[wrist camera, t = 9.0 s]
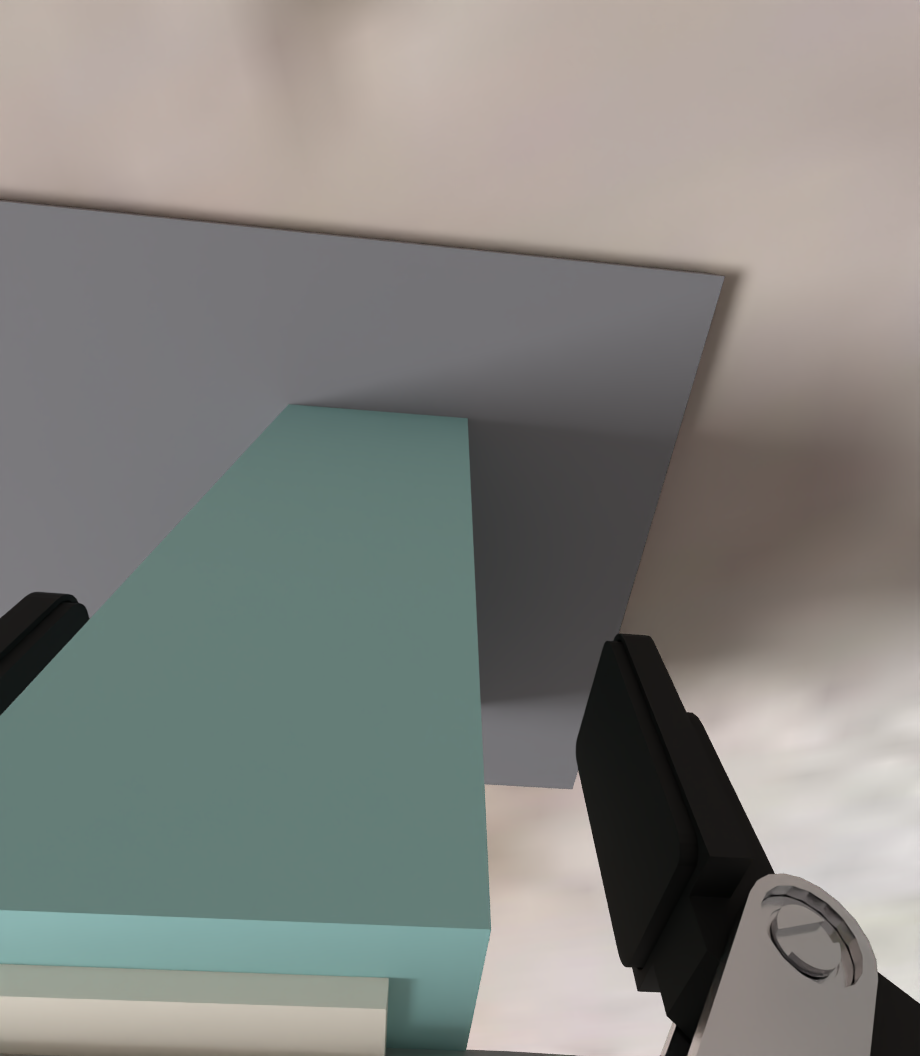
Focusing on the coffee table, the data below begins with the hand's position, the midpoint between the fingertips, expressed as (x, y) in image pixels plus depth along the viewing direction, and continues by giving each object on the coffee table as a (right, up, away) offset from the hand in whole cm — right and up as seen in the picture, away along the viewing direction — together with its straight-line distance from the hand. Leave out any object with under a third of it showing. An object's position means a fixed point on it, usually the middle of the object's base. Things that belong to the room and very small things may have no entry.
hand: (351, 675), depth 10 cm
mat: (-3, +2, +3) cm, 5 cm away
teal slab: (0, +1, +3) cm, 3 cm away
